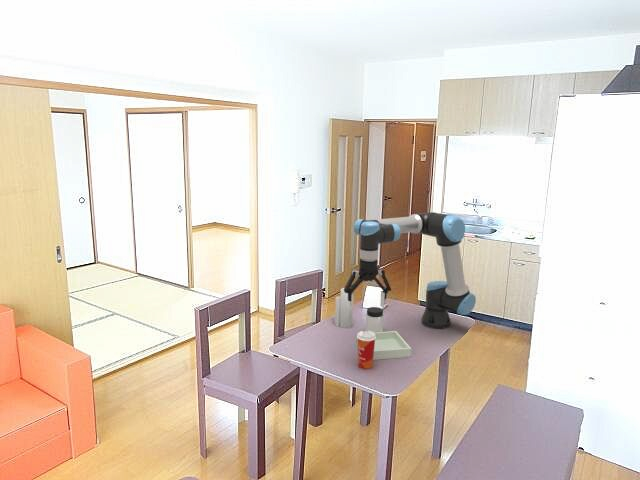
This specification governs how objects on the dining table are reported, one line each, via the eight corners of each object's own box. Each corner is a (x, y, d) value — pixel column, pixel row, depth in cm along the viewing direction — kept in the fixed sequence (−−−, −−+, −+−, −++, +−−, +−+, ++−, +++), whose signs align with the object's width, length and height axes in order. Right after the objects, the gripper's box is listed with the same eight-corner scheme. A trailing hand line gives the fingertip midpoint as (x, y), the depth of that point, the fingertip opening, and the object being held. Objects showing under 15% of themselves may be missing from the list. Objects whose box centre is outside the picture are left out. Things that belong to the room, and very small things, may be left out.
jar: (363, 329, 245) (363, 307, 243) (376, 327, 248) (377, 305, 246) (371, 336, 237) (372, 313, 235) (385, 333, 240) (386, 311, 238)
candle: (354, 325, 251) (355, 289, 246) (346, 329, 245) (347, 292, 241) (338, 319, 258) (339, 284, 254) (329, 323, 253) (330, 287, 248)
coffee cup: (354, 361, 210) (355, 330, 207) (372, 361, 211) (374, 329, 208) (357, 370, 202) (358, 338, 199) (376, 370, 203) (377, 337, 200)
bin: (395, 338, 235) (396, 330, 234) (410, 356, 216) (411, 348, 215) (356, 341, 231) (357, 333, 230) (368, 360, 212) (369, 351, 211)
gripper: (394, 255, 202) (391, 302, 207) (337, 257, 198) (336, 305, 202) (400, 260, 195) (397, 308, 200) (341, 262, 190) (340, 312, 195)
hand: (366, 307), depth 201 cm, fingers open, 13 cm apart
